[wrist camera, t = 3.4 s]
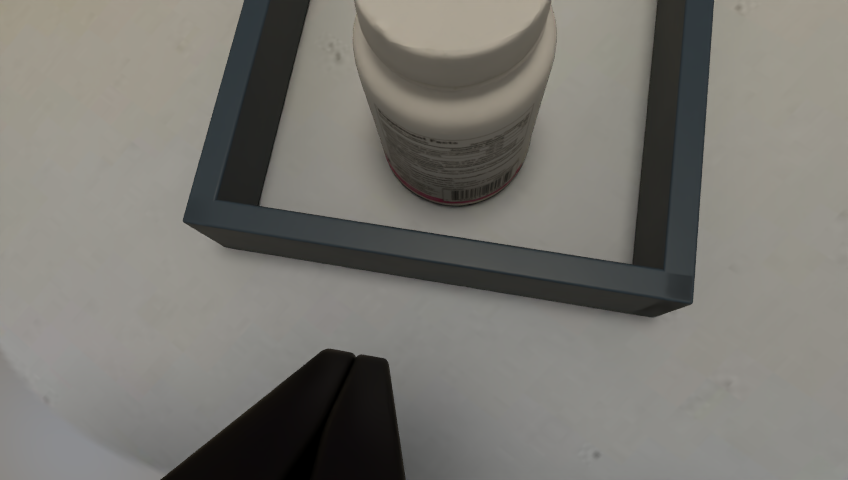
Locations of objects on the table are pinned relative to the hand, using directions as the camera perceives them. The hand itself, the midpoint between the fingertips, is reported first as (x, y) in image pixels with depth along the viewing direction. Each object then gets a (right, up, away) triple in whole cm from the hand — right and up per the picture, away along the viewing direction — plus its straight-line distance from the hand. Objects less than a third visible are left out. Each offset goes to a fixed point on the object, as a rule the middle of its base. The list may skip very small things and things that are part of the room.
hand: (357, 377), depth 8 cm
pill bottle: (+2, +5, +12) cm, 13 cm away
